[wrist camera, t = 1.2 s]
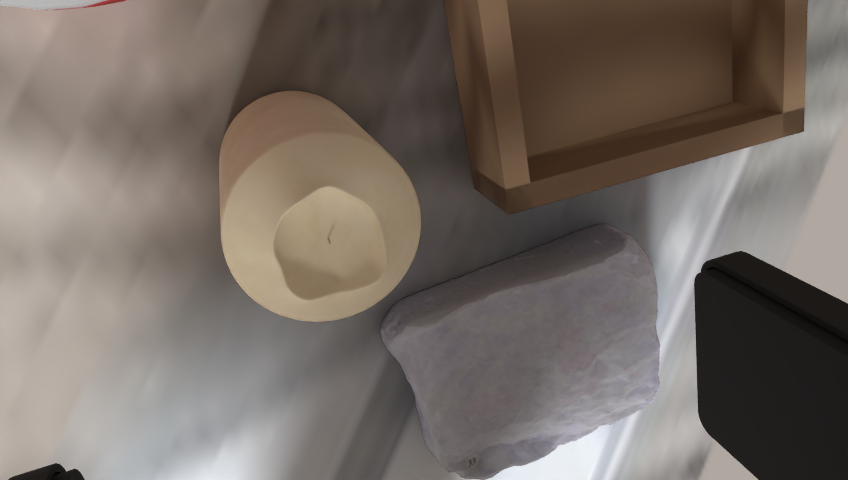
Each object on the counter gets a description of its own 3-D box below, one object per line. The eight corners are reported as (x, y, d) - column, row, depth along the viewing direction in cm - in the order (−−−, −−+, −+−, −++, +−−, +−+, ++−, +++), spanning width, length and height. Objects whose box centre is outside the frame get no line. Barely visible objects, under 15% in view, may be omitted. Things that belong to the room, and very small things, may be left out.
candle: (390, 144, 28) (476, 220, 19) (310, 253, 28) (355, 379, 19) (274, 58, 25) (306, 97, 16) (189, 179, 26) (175, 281, 17)
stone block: (624, 352, 37) (612, 197, 31) (676, 417, 33) (674, 253, 27) (415, 436, 36) (363, 290, 30) (445, 514, 32) (391, 362, 26)
